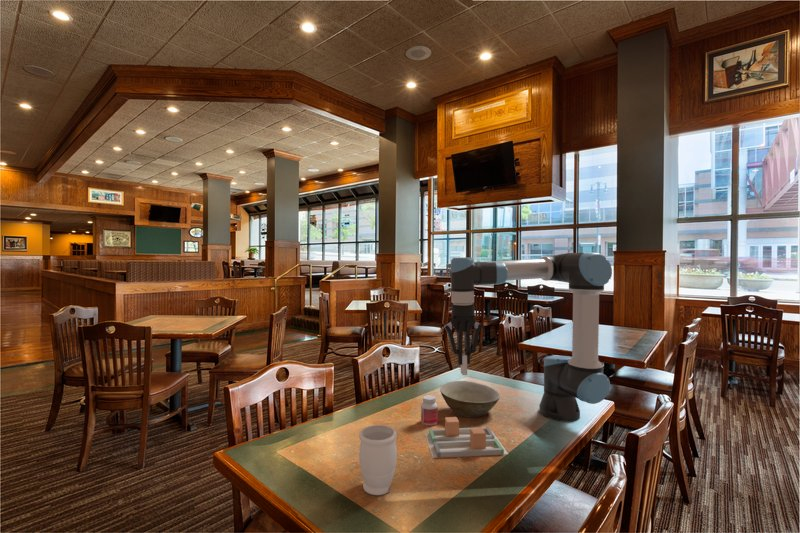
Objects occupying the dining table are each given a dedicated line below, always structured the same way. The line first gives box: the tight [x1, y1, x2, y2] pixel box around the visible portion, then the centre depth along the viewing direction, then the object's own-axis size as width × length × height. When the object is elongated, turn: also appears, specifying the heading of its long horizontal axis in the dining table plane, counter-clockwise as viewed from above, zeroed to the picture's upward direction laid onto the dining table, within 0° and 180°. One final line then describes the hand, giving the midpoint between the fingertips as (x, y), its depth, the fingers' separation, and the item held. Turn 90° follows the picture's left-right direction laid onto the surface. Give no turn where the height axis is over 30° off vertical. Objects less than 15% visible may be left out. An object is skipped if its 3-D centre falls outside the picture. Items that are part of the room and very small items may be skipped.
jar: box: [358, 424, 398, 496], centre depth 105 cm, size 11×10×15 cm
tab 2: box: [469, 427, 486, 449], centre depth 122 cm, size 4×4×6 cm
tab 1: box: [444, 416, 460, 437], centre depth 131 cm, size 4×4×6 cm
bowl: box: [439, 380, 501, 418], centre depth 154 cm, size 24×24×10 cm
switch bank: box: [424, 426, 509, 459], centre depth 127 cm, size 24×16×3 cm, turn 95°
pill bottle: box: [420, 394, 439, 427], centre depth 143 cm, size 6×6×11 cm
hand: (464, 373), depth 128 cm, fingers closed
